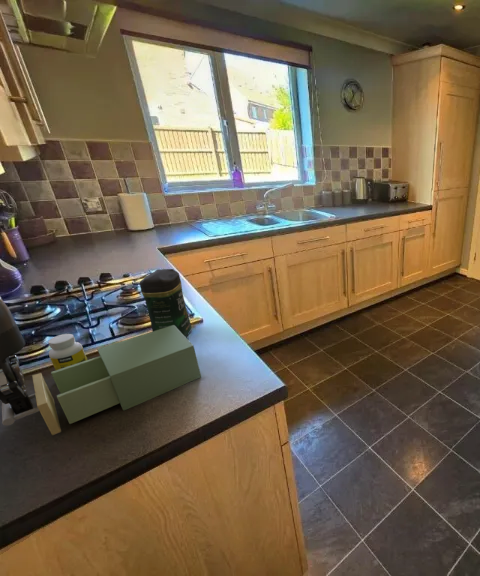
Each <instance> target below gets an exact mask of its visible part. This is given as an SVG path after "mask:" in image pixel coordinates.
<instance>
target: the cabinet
mask: <svg viewBox="0 0 480 576" xmlns="http://www.w3.org/2000/svg"><path fill="white" fill-rule="evenodd" d="M97 352H98V356H101V358H102V361H103V363H104V365H105V367H106V369H107V371H108V373H109V375H110V377H111V380H112V383H113V385H114V388H115V390H116V393H117V396H118V398H119V401H120V403H119V405H120V406H121V409H122V411H126V410H129V409H131V408H134V407H136V406H138V405H140V404H142V403H145V402H147V401H150V400H152V399H155V398H156V397H159V396H161V395H163V394H165V393H168V392H171V391H172V390H175V389H177V388H179V387H182V386H185V385H187V384H188V383H191V382H193V381H196V380H198V379H200V378H202V375H201V370H200V367H199V362H198V359H197V358H198V357H197V353H196V349H195V346H194V344H193V343H192V342H191V341H190V340H189V339H188V338H187V336H186V337H185V336H184V335H183V334H182V333H181V332H180V331H179V330H178V329H177V327H176V326H175V325H172V326H169V327H166V328H163V329H159V330H156V331H150V332H147V333H144V334H141V335H137V336H134V337H131V338H128V339H125V340H121V341H119V342H115V343H112V344H109V345H106V346H103V347H99V348H97Z"/></svg>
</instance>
